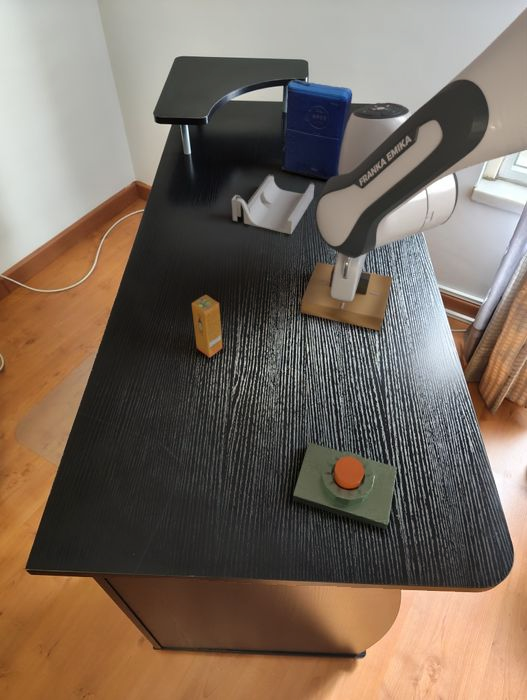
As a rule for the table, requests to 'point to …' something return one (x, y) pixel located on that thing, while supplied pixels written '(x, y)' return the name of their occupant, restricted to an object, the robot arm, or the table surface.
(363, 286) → the dark grey block
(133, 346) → the table surface
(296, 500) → the button box
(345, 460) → the button
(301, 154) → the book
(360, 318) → the control panel
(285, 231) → the white curved channel piece
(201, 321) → the supplement box
